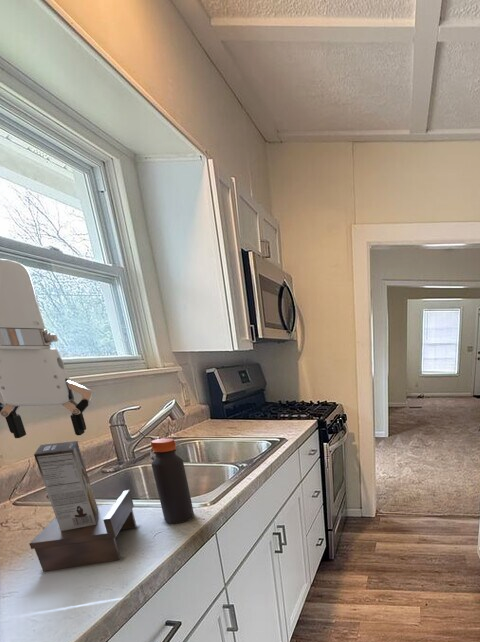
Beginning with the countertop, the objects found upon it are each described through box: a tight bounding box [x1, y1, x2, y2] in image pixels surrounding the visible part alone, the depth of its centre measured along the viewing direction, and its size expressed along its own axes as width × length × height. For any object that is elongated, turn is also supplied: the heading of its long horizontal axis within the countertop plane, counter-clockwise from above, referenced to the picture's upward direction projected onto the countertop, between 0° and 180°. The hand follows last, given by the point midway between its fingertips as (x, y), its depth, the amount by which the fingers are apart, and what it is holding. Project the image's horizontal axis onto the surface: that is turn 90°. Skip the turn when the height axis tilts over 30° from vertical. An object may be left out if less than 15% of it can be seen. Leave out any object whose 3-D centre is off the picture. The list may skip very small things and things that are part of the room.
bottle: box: [150, 437, 195, 524], centre depth 98 cm, size 7×7×20 cm
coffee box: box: [33, 440, 99, 531], centre depth 82 cm, size 9×6×16 cm
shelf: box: [29, 489, 137, 572], centre depth 86 cm, size 14×18×9 cm
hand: (51, 435), depth 78 cm, fingers open, 9 cm apart
